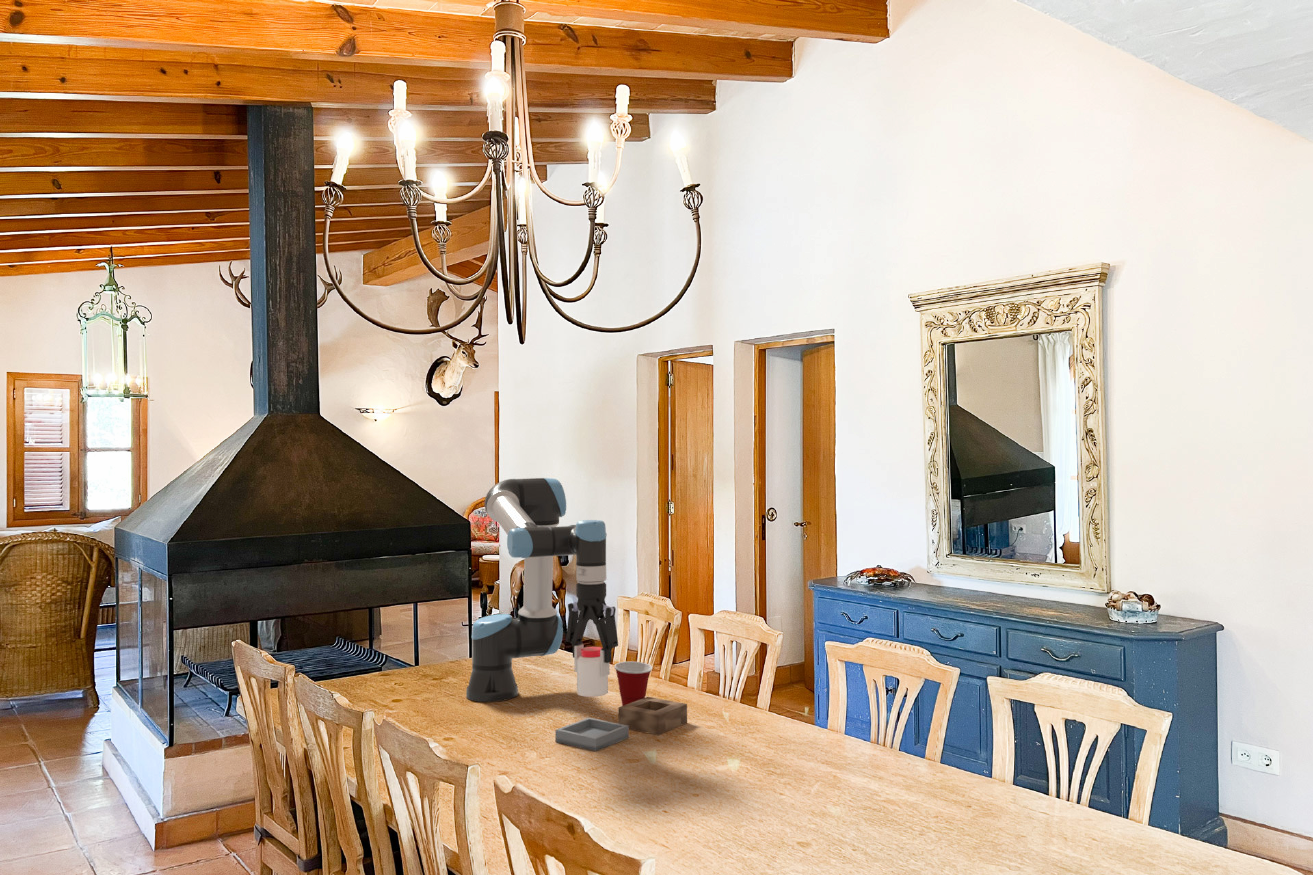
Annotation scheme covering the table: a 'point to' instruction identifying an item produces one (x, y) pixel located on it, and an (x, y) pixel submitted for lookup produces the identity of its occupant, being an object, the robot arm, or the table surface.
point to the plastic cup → (632, 680)
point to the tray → (592, 734)
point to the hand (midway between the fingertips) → (591, 672)
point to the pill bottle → (590, 673)
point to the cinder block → (653, 715)
